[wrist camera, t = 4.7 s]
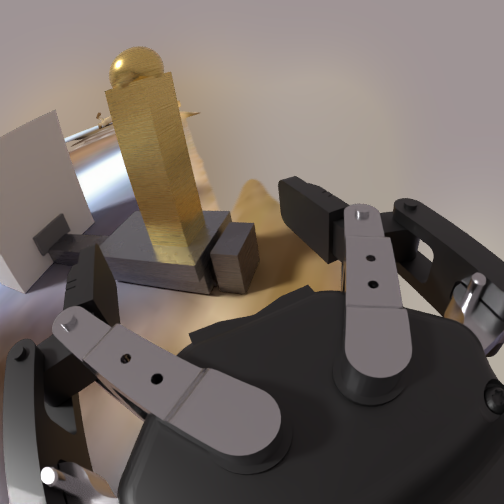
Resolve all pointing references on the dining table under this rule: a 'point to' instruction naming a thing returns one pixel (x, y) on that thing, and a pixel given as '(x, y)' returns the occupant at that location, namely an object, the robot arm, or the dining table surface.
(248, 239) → the rail
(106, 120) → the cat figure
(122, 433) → the dining table surface
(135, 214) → the gold sphere topped award
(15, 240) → the cabinet
